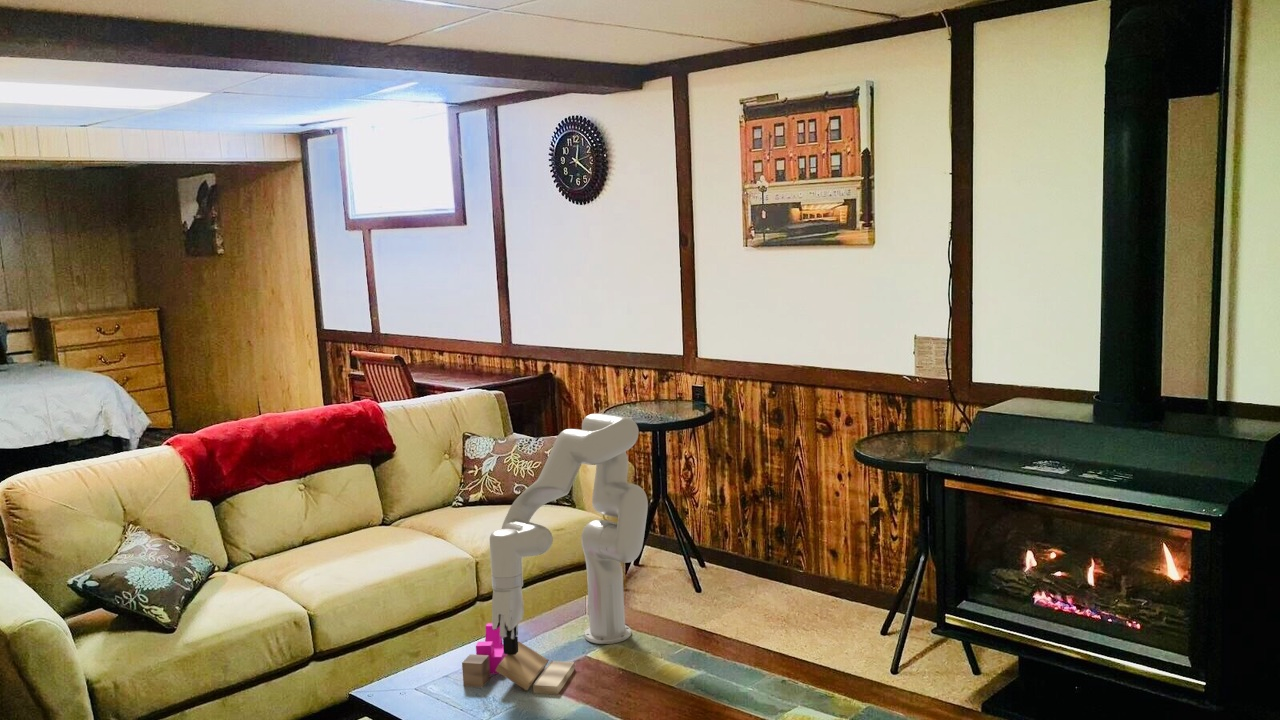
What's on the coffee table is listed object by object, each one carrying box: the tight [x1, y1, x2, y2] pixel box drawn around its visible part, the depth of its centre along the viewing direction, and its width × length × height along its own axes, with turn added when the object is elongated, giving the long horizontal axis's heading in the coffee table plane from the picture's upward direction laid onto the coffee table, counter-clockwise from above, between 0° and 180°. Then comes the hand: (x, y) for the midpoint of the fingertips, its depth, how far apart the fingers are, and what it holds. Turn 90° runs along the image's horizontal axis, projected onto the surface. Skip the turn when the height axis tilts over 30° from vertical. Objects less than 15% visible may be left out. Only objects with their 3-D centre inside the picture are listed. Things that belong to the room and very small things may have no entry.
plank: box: [495, 640, 550, 692], centre depth 251 cm, size 14×9×2 cm
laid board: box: [532, 660, 576, 696], centre depth 250 cm, size 14×6×2 cm, turn 167°
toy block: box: [475, 622, 507, 675], centre depth 263 cm, size 15×6×8 cm, turn 178°
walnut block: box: [461, 653, 491, 688], centre depth 251 cm, size 5×5×6 cm
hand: (511, 652), depth 251 cm, fingers closed
